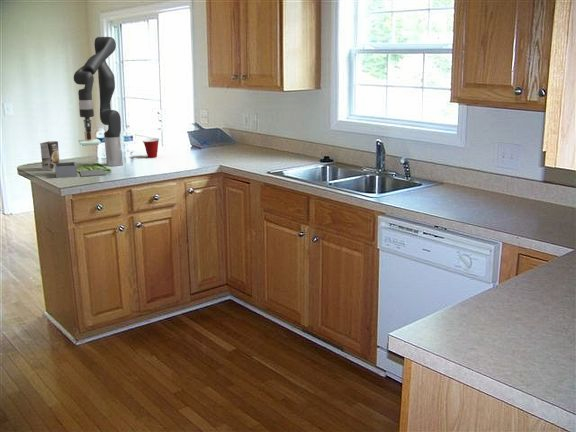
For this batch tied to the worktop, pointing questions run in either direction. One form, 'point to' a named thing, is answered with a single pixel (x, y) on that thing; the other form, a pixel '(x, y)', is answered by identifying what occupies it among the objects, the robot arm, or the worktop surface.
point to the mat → (92, 173)
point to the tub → (65, 169)
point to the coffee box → (49, 155)
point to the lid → (89, 141)
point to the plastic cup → (151, 147)
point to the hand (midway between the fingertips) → (88, 139)
